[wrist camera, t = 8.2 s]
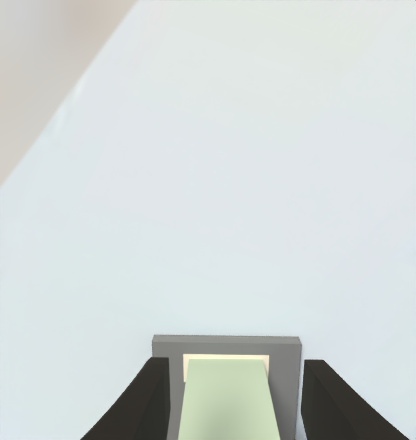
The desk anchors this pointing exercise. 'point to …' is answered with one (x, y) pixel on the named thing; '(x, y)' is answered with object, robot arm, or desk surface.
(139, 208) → the desk surface
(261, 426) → the green domino
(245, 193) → the desk surface
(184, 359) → the board
